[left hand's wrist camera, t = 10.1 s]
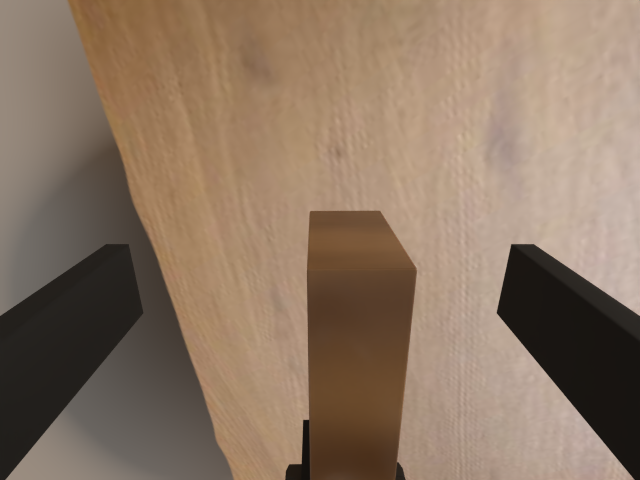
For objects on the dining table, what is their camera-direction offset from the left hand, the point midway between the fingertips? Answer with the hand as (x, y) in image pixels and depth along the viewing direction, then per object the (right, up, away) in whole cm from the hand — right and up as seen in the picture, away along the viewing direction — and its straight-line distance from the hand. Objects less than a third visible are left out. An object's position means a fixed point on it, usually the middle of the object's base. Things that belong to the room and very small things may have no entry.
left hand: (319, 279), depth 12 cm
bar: (+2, -7, +15) cm, 17 cm away
